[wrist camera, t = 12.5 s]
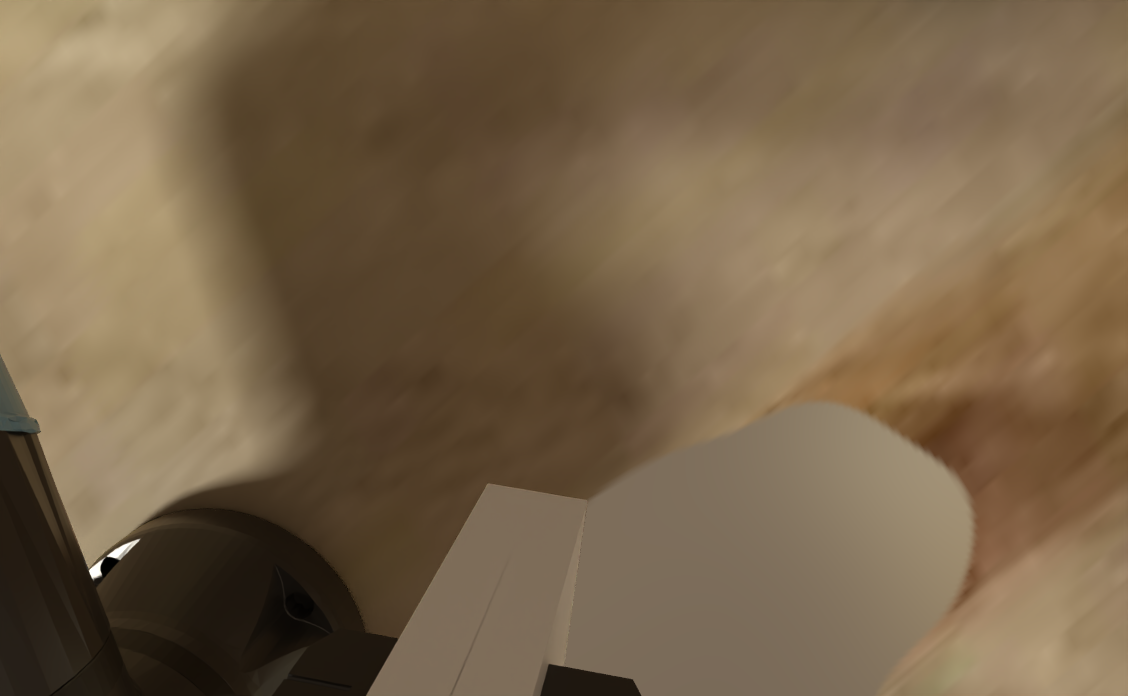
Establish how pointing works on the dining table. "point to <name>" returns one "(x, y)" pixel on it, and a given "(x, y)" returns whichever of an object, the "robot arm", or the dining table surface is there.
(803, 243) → the dining table surface
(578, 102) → the dining table surface
